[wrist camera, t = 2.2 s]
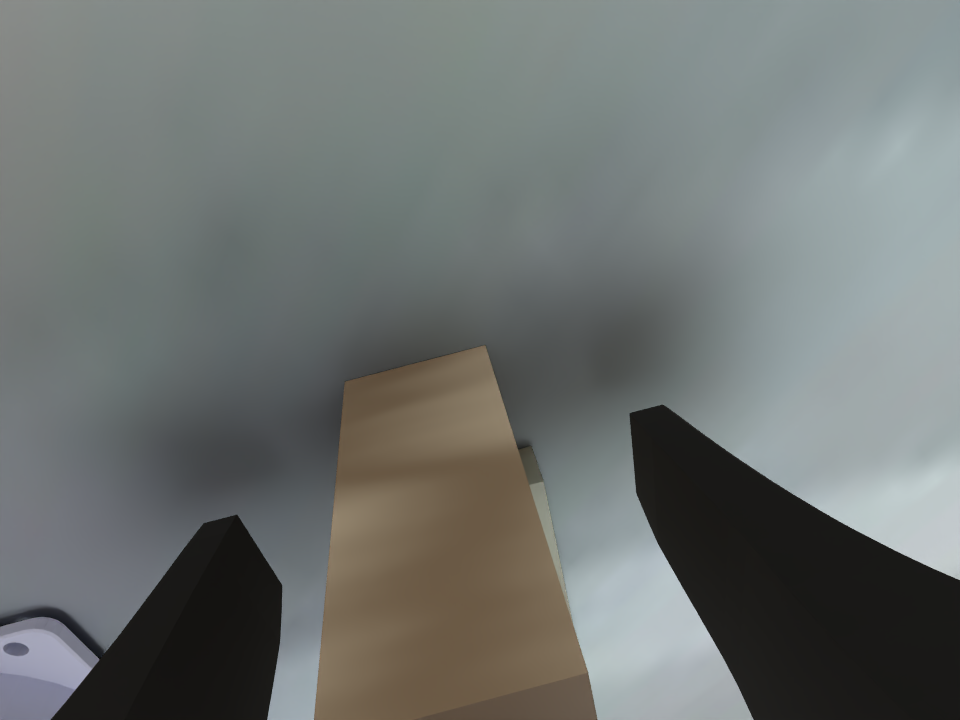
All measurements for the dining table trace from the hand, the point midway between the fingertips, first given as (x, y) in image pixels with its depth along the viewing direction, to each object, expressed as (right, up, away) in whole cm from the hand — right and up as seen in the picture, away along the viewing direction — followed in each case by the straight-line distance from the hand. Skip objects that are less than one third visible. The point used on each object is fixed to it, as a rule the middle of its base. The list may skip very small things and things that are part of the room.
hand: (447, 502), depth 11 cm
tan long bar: (+1, -6, +7) cm, 9 cm away
